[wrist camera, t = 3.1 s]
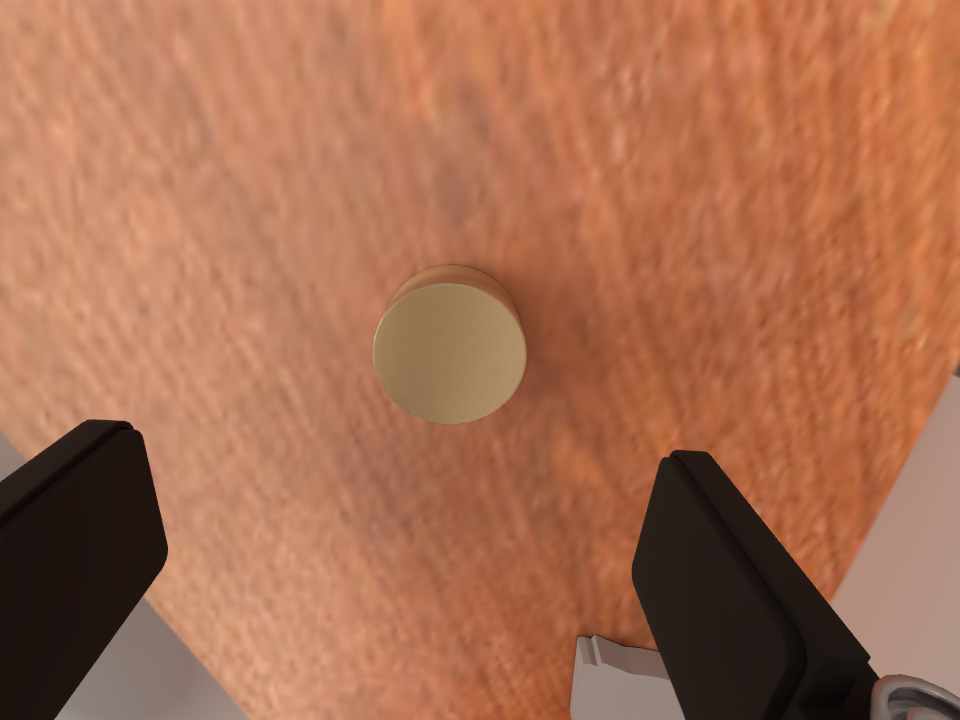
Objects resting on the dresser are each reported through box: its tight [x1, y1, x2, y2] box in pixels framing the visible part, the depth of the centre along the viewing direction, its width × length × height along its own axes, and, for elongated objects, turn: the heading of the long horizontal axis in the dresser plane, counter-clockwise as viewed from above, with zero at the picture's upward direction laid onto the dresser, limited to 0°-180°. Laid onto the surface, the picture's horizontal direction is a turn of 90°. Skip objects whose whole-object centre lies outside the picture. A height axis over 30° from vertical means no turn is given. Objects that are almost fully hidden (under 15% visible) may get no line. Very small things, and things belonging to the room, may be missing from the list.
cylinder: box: [372, 265, 527, 424], centre depth 16 cm, size 5×5×2 cm
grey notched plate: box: [570, 635, 685, 720], centre depth 24 cm, size 6×1×10 cm
